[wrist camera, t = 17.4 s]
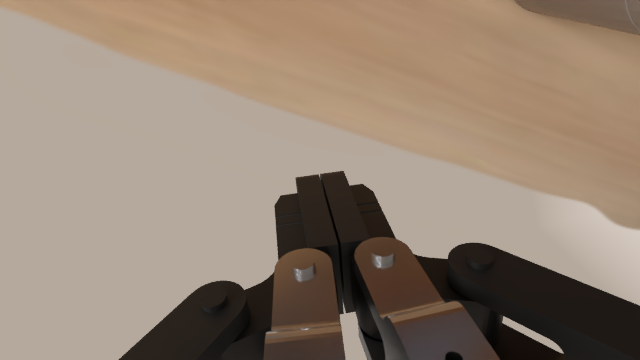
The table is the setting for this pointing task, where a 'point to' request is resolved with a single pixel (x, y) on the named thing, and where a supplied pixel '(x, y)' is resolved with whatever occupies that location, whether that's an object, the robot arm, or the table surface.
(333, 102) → the table surface
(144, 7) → the table surface
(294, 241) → the robot arm
